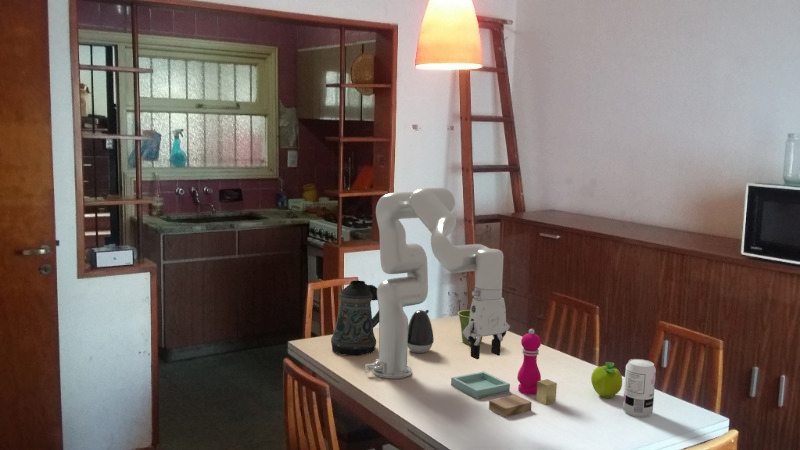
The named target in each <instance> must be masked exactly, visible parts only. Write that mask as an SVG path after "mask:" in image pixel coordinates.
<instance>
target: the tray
mask: <svg viewBox="0 0 800 450" xmlns="http://www.w3.org/2000/svg"><path fill="white" fill-rule="evenodd" d="M450 380H451V381H450V385H451V386H452V387H453V388H455V389H457V390H459V391H461V392H463V393H465V394H466V395H469V396H470V397H472V398H474V399H476V400H477V399H482V398H486V397H491V396H495V395H500V394H504V393H509V392H510V391H511V390H510V388H511V384H510V383H509V382H507V381H504V380H502V379H500V378H498V377H496V376H494V375H492V374H490V373H488V372H487V371H479V372H474V373H473V372H472V373H469V374H464V375H458V376H453V377H450Z"/></svg>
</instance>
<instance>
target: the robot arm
mask: <svg viewBox="0 0 800 450" xmlns="http://www.w3.org/2000/svg"><path fill="white" fill-rule="evenodd" d="M455 202H456V201H455V197H454V194H453V193H452V192H451V191H450V190H449V189H447V188H445V187H425V188H423V187H422V188H419V189H416V190H415V191H399V192H398V191H396V192H390V193H386V194H384V195H382V196H381V197H380V198H379V199H378V201H377V203H376V207H375V217H376V222H377V226H378V231H379V255H380V257H379V258H380V268H381V269H382V272H383V273H385V274H387V275H401V274H406V275H407V276H401V277H393V278H388V279H385V280H383V281H382V282H380V283H379V284H378V286H377V287H376V288H377V299H378V300H377V305H378V310H379V323H378V324H379V326H378V358H375V361H374V362H373V363H366V364H365V365H364V369H365V370H366V371H370V370H372V371H373V374H374V375H375V376H377V377H380V378H383V379H403V378H404V379H405V378H408V377H409V376H411V375H412V370H413V369H412V368H411V367H410V366H409V365H408V350H409V348H408V325H409V319H408V316H407V314H406V311H404V309H403V308H404V307H409V306H415V305H420V304H422V303H424V302H425V301H426V300H427V298H428V292H429V277H428V276H429V275H428V273H429V272H428V271H429V270H428V269H429V268H428V256H427V253H426V251H425V249H424V248H423V246H421V245H420V244H418V243H407V234H406V228H405V227H404V225H403V223H402V222H401V221H400V220H401V219H402V220H405V219H408V220H409V219H419V221H421V223H422V224H423V225H424V226H425V227H426V228H427V230H428V231H429V232H430V233H431V235H430V245H431V250H432V254H433V255H434V257H435V258H436V259H437V260H438V262H439V263H440V264H441V266H442V267H443V268H444V269H445V270H447V271H448V272H450V273H453V274H457V273H466V272H474V273H475V275H474V290H473V291H471V296H473V297H472V299H471V304H470V309H469V310H470V316H469V324H468V326H467V327H466V328H465V329H464V330H463V332H462V333H463V335H464V336H465V337H466V339H467V340H468V341H469V343H471V345H470V357H471V358H473V359H475V360H479V359H480V356H481V355H480V350H481V349H480V348H481V346H480V344H478V343H479V341H480V338H481V337H482V338H483V337H488V336H492V337H493V338H492V339H491V347H490V353H492V354H493V355H496V356H498V357H499V356H501V346H502V345H501V342H503V341H504V337H505V336H506V334H507V332H508V331H509V329H510V328H511V326H510V325H509V323H508V322H507V313H506V312H507V310H506V309H507V308H506V303H505V298H504V297H503V275H504V270H503V269H504V253H503V251H502V250H500V249H496V248H489V247H488V246H486V245H484V244H481V243H473V244H460V245H454V244H453V243H452V242H451V241H450V240H449V239H448V236H449V235H450V234H451V233H452V232H453V230H454V229H455V228H456V225H457V219H456V216H455V215H454V214H453V213H452V212H453V210H454V208H455V205H456V203H455ZM470 332H471V333H472V334H471V335H470ZM462 333H461V334H462ZM475 337H476V339H475Z"/></svg>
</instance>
